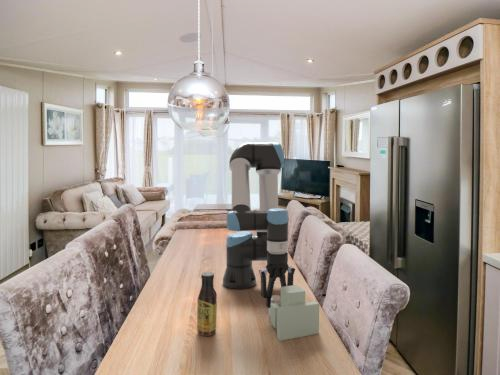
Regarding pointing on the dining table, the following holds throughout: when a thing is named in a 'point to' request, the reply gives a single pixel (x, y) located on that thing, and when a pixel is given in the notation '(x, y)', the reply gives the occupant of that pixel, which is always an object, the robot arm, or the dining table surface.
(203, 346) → the dining table surface
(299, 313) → the pale green block
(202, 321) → the sauce bottle
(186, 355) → the dining table surface
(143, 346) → the dining table surface
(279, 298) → the brown boxy piece
